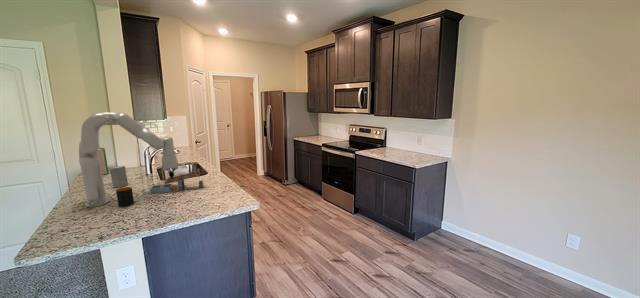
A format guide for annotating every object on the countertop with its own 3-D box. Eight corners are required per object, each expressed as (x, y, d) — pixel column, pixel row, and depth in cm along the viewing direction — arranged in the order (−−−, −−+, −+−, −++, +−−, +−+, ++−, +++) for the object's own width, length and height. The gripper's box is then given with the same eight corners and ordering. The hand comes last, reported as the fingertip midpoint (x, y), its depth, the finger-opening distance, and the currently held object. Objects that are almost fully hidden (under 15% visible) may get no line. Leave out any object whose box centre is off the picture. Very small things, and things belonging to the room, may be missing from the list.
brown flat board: (202, 170, 217) (200, 165, 216) (199, 175, 201) (197, 170, 200) (169, 178, 211) (168, 173, 210) (164, 184, 195) (162, 179, 194)
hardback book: (108, 174, 248) (104, 148, 243) (99, 176, 242) (94, 149, 237) (101, 171, 258) (97, 146, 253) (92, 173, 252) (87, 148, 247)
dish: (169, 192, 197) (169, 187, 196) (150, 194, 193) (149, 189, 192) (172, 188, 205) (171, 183, 204) (153, 190, 201) (153, 185, 200)
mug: (119, 209, 166) (117, 193, 164) (118, 204, 175) (115, 189, 173) (135, 206, 171) (133, 190, 169) (133, 201, 180) (131, 186, 178)
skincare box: (121, 188, 208) (117, 168, 205) (112, 188, 208) (108, 168, 205) (128, 184, 216) (126, 165, 213) (120, 184, 216) (117, 165, 213)
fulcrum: (187, 186, 209) (186, 175, 208) (184, 191, 198) (183, 180, 196) (179, 187, 207) (177, 176, 206) (175, 192, 196) (174, 181, 195)
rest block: (202, 188, 204) (201, 182, 203) (199, 188, 204) (198, 182, 203) (203, 186, 209) (202, 180, 208) (199, 186, 208) (199, 180, 208)
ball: (165, 188, 198) (161, 185, 196) (162, 191, 197) (158, 189, 196) (166, 186, 201) (162, 184, 200) (163, 190, 201) (159, 187, 200)
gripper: (156, 155, 198) (159, 179, 201) (178, 153, 202) (181, 177, 206) (159, 153, 205) (162, 176, 209) (180, 152, 209) (183, 174, 213)
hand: (171, 176), depth 207 cm, fingers closed
